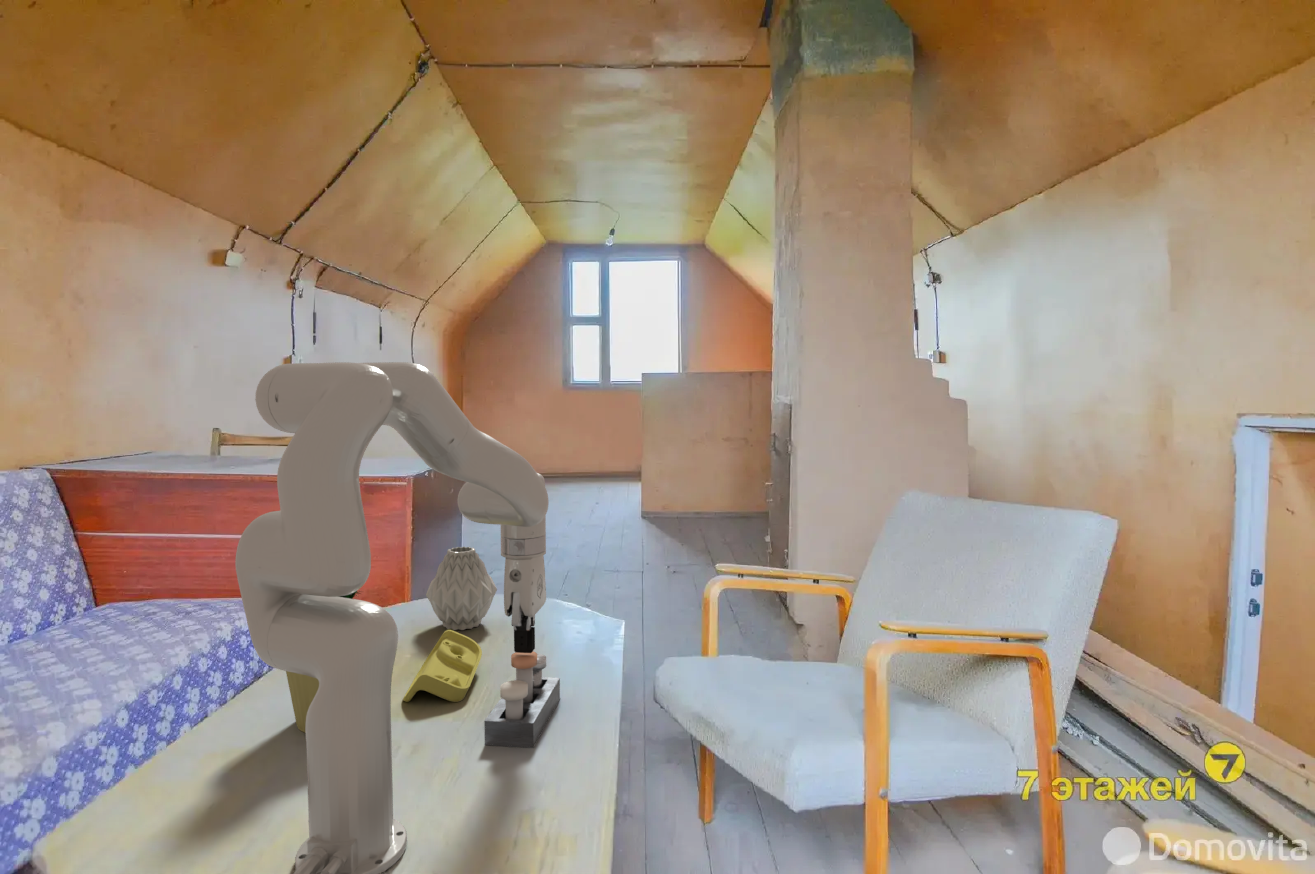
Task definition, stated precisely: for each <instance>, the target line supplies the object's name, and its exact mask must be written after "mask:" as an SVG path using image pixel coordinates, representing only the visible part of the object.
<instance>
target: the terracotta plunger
mask: <svg viewBox="0 0 1315 874" xmlns="http://www.w3.org/2000/svg"><path fill="white" fill-rule="evenodd" d="M537 654H538V653H537V652H535V651H534V650H533V652H532V653H516V652H515V651H514V653H512V654H511V657H510V665H511V667H512V668H514V669H515V678H516V680H520V681H524V682H526V683H527V684H528V695H527V696H526V697H525V698H523V703H532V704H533V667H534V666H536V665H537Z"/></svg>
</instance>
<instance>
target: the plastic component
mask: <svg viewBox="0 0 1315 874" xmlns="http://www.w3.org/2000/svg"><path fill="white" fill-rule="evenodd" d="M482 655H483V650H482V648H481V646H480V644H479V643H477V642H476V641H475V640H474V639H472V638H471V637H469V636H467V635H465V634H462V633H459V632H457V631H456V630H453V629H446V630H444V632H443V633H442V634H441V636H440V637H439V639H438V641H437V642H436V644H435V645H434V646H433V648H432V649H431V651H430V653H429V654H428V656H427V658H426V659H425V660H424V662H423V664H422V665H421V667H420V669H419V670H418V672H417V673H416V675H415V676H414V679H413V680H412V682H411V684H410V686H409V687H408V688H407V691H406V693H405V695H404V696H403V697H402V701H404V702H406V703H408V702H410V701H411V700H412V699H413V697H414V696H415V695H416V693H417V692H419V691H425V692H427V693H430V694H432V695H433V696H437V697H439V698H441V699H444V700H446V701H448V702H453V703H458V702H461V701H463V700H464V699H465V697H466V694H467V693H468V691H469V689H470V688H471V684H472V682H473V679H474V676H475V674H476V672H477V669H478V668H479V664H480V661H481V659H482Z"/></svg>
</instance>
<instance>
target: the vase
mask: <svg viewBox="0 0 1315 874" xmlns="http://www.w3.org/2000/svg"><path fill="white" fill-rule="evenodd" d="M497 588H498V587H497V586H496V584H495V582H494V580H493V578H492V577H491V575H490V574H489V572H488V571H487V567H486V565H485V562H484V561H483V560H482V559H481V558H480V555H479V554H478V553H477V552H476V549H475V548H474V547H471V546H467V547H466V546H456V547H452V548H448V549H447V551H446V554H445V555H444V557H443V559H442V561H441V562H440V563H439V564H438V567H437V570H436V574H435V577H434V578H433V579H432V580H431V582H430V584H429V585H428V589H427V591H426V594H425V596H426V598H427V599H428V601H429V603H430V605H431V607H432V610H433V612H434V614H435V615H436V617H437V618H438V621H441V622H442V626H443V627H444V628H446V630H453V631H457V630H460V631H464V630H466V629H467V630H472V629H473V628H475V627H476V628H477V627H479V625H480V624H482V620H483V619H484V618H485V617H486V615H487V613H488V612H489V610H490V607H491V605H492V603H493V600H494V598H495V597H494V596H495V595H496V593H497V591H498V589H497Z"/></svg>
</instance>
